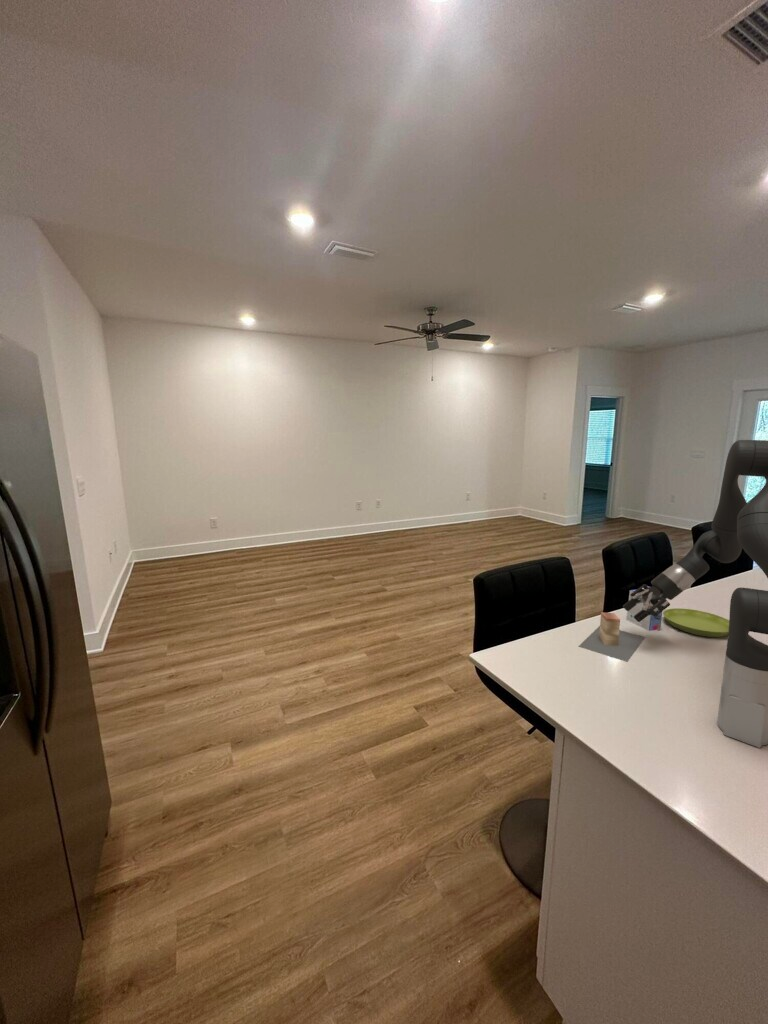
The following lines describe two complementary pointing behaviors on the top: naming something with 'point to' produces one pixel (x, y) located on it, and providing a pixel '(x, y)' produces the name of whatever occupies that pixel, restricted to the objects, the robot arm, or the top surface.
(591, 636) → the rubber mat
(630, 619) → the ink cartridge box
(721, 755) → the top surface
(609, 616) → the beech block
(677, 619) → the saucer
